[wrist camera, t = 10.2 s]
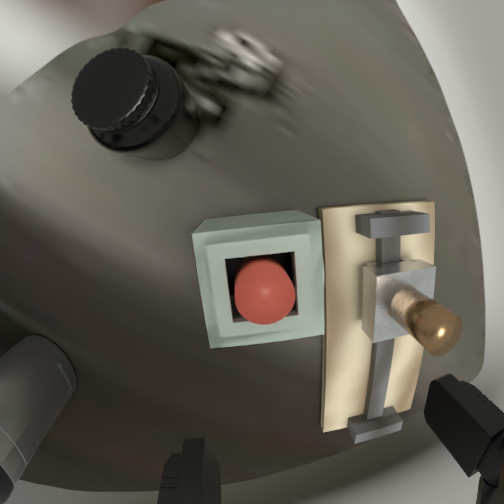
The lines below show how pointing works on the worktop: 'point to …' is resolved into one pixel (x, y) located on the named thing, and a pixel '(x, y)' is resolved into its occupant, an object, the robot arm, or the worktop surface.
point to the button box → (252, 244)
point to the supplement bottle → (135, 104)
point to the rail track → (350, 316)
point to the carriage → (407, 305)
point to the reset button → (263, 290)
